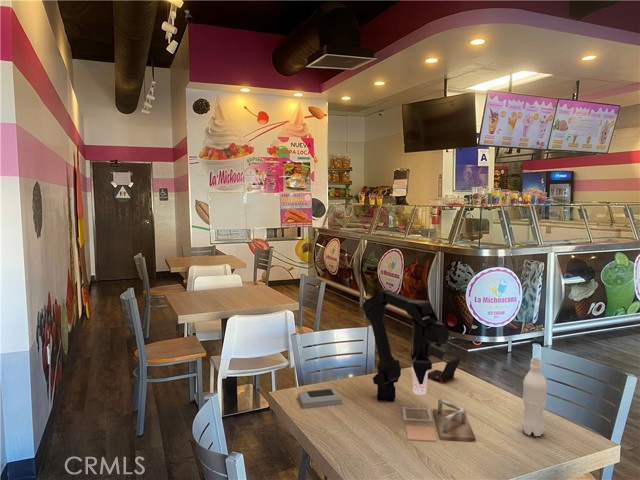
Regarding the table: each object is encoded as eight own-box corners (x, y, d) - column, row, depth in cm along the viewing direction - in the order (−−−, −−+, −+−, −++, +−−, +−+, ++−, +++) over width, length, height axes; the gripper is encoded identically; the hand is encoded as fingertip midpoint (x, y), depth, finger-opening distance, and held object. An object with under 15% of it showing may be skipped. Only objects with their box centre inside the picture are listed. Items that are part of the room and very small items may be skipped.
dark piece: (436, 372, 213) (437, 350, 212) (460, 380, 204) (461, 357, 203) (424, 377, 207) (424, 355, 206) (448, 386, 198) (448, 362, 197)
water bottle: (520, 435, 157) (523, 361, 154) (522, 426, 163) (525, 354, 161) (544, 440, 153) (547, 365, 151) (545, 431, 160) (548, 358, 157)
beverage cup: (430, 395, 168) (431, 356, 167) (413, 396, 167) (414, 357, 166) (425, 388, 174) (426, 351, 173) (408, 389, 173) (409, 351, 172)
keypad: (297, 390, 185) (334, 386, 189) (297, 399, 186) (334, 395, 189) (303, 400, 176) (342, 396, 180) (303, 409, 176) (342, 405, 180)
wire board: (440, 439, 154) (440, 421, 153) (433, 412, 174) (433, 395, 173) (475, 441, 153) (476, 423, 152) (464, 413, 172) (464, 397, 172)
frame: (403, 420, 167) (403, 419, 167) (402, 408, 177) (402, 407, 177) (432, 422, 166) (432, 421, 166) (429, 409, 176) (429, 408, 176)
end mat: (407, 440, 154) (407, 438, 154) (405, 426, 163) (405, 425, 163) (436, 441, 153) (436, 440, 153) (432, 428, 162) (432, 427, 161)
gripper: (447, 346, 159) (446, 391, 160) (440, 330, 177) (439, 371, 178) (413, 344, 160) (412, 389, 161) (410, 329, 178) (409, 370, 180)
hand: (419, 379), depth 170 cm, fingers closed on beverage cup, 7 cm apart
